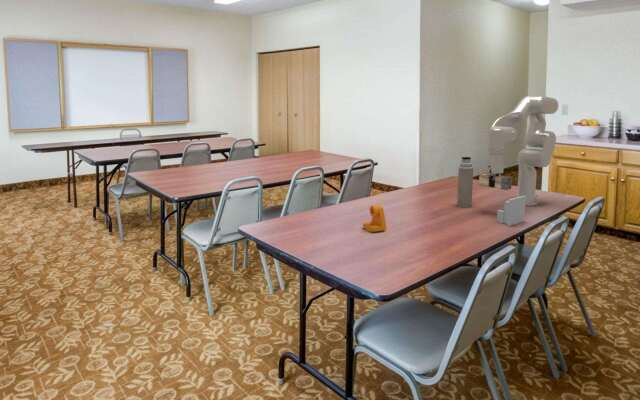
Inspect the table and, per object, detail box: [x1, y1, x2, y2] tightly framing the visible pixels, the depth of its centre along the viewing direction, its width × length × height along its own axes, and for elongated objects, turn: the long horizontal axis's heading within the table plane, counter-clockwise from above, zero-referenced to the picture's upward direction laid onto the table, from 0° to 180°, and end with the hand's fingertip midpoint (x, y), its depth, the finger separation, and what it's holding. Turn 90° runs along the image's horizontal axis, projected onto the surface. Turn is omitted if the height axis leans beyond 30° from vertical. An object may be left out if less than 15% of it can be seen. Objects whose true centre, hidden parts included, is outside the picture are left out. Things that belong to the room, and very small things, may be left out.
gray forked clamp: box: [496, 196, 526, 227], centre depth 249 cm, size 8×13×13 cm, turn 128°
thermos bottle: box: [456, 156, 474, 208], centre depth 283 cm, size 8×8×28 cm
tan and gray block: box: [478, 173, 513, 191], centre depth 264 cm, size 5×16×6 cm, turn 37°
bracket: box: [362, 204, 387, 233], centre depth 240 cm, size 11×7×12 cm, turn 23°
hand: (494, 186), depth 264 cm, fingers closed on tan and gray block, 4 cm apart
